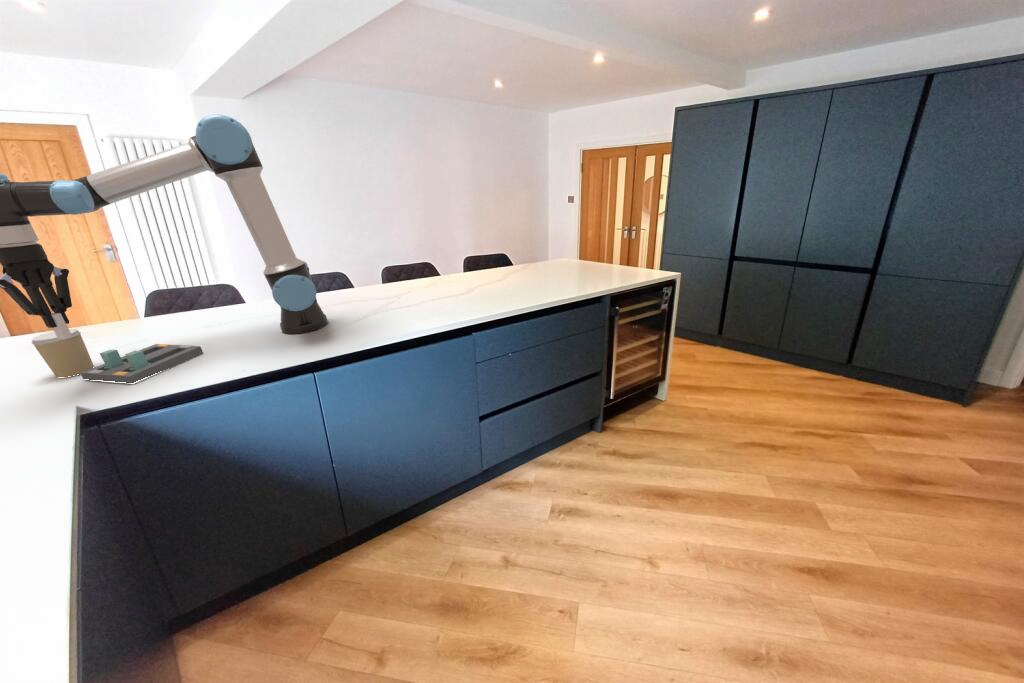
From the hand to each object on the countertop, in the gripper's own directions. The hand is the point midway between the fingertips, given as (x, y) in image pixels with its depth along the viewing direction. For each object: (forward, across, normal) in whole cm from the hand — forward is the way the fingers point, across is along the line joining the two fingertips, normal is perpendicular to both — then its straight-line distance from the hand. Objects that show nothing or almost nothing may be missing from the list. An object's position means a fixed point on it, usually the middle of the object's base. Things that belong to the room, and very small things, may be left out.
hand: (65, 337), depth 100 cm
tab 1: (+12, -7, 0) cm, 14 cm away
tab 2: (+12, -7, +9) cm, 17 cm away
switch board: (+14, -11, +5) cm, 18 cm away
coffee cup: (+14, -5, -14) cm, 21 cm away
